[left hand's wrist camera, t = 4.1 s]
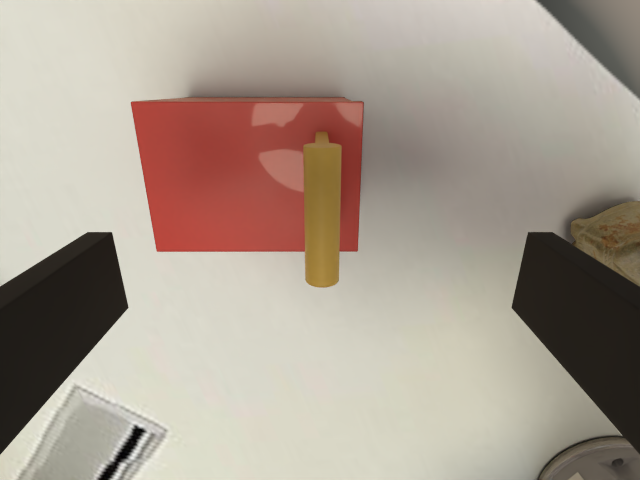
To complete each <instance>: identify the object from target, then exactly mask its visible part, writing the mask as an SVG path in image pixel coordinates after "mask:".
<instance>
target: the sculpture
mask: <svg viewBox="0 0 640 480" xmlns="http://www.w3.org/2000/svg"><path fill="white" fill-rule="evenodd" d="M571 235H572V236H573V237H574V238H575V240H576V241H574V242H573V243H572V245H574V246H575V247H577V248H578V249H580V250H582V251H583V252H585V253H586V254H588V255H590V256H591V257H593V258H595V259H596V260H598V261H599V262H601V263H603V264H604V265H606V266H607V267H609V268H611V269H612V270H614V271H615V272H617V273H619V274H620V275H622V276H623V277H625V278H627V279H628V280H630V281H632V282H633V283H635V284H636V285H638V286H640V201H633V202H626V203H622V204H619V205H616V206H614V207H611V208H609V209H607V210H605V211H603V212H601V213H599V214H598V215H596V216H594V217H591V218H587V219H582V218H578V219H576V220H574V221H572V222H571Z"/></svg>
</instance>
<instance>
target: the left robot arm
mask: <svg viewBox="0 0 640 480" xmlns="http://www.w3.org/2000/svg"><path fill="white" fill-rule="evenodd" d="M127 309H128V304H127V299H126V294H125V290H124V285H123V281H122V276H121V272H120V267H119V262H118V258H117V253H116V249H115V244H114V240H113V235H112V232H87V233H86V234H84V235H82V236H81V237H79V238H78V239H76V240H74V241H73V242H71V243H70V244H68V245H66V246H65V247H63V248H62V249H60V250H58V251H57V252H55V253H54V254H52V255H50V256H49V257H47V258H45V259H44V260H42V261H41V262H39V263H37V264H36V265H34V266H33V267H31V268H29V269H28V270H26V271H25V272H23V273H21V274H20V275H18V276H17V277H15V278H13V279H12V280H10V281H8V282H7V283H5V284H4V285H2V286H0V454H1V453H2V452H3V451H4V450H5V449H6V447H7V446H8V445H9V444H10V443H11V442H12V441H13V439H14V438H15V437H16V436H17V435H18V434H19V432H20V431H21V430H22V429H23V428H24V427H25V426H26V424H27V423H28V422H29V421H30V420H31V419H32V418H33V416H34V415H35V414H36V413H37V412H38V411H39V410H40V408H41V407H42V406H43V405H44V404H45V403H46V402H47V400H48V399H49V398H50V397H51V396H52V395H53V393H54V392H55V391H56V390H57V389H58V388H59V387H60V385H61V384H62V383H63V382H64V381H65V380H66V379H67V377H68V376H69V375H70V374H71V373H72V372H73V371H74V369H75V368H76V367H77V366H78V365H79V364H80V363H81V361H82V360H83V359H84V358H85V357H86V356H87V355H88V353H89V352H90V351H91V350H92V349H93V348H94V346H95V345H96V344H97V343H98V342H99V341H100V340H101V338H102V337H103V336H104V335H105V334H106V333H107V332H108V330H109V329H110V328H111V327H112V326H113V325H114V324H115V322H116V321H117V320H118V319H119V318H120V317H121V316H122V314H123V313H124V312H125V311H126V310H127ZM512 309H513V310H514V311H515V312H516V313H517V314H518V316H519V317H520V318H521V319H522V320H523V321H524V322H525V324H526V325H527V326H528V327H529V328H530V329H531V330H532V332H533V333H534V334H535V335H536V336H537V337H538V338H539V340H540V341H541V342H542V343H543V344H544V345H545V346H546V348H547V349H548V350H549V351H550V352H551V353H552V355H553V356H554V357H555V358H556V359H557V360H558V361H559V363H560V364H561V365H562V366H563V367H564V368H565V369H566V371H567V372H568V373H569V374H570V375H571V376H572V377H573V379H574V380H575V381H576V382H577V383H578V384H579V385H580V387H581V388H582V389H583V390H584V391H585V392H586V394H587V395H588V396H589V397H590V398H591V399H592V400H593V402H594V403H595V404H596V405H597V406H598V407H599V408H600V410H601V411H602V412H603V413H604V414H605V415H606V416H607V418H608V419H609V420H610V421H611V422H612V423H613V424H614V426H615V427H616V428H617V429H618V430H619V431H620V432H621V434H622V435H623V436H624V437H625V438H623V437H608V438H600V439H595V440H591V441H587V442H584V443H581V444H578V445H576V446H574V447H572V448H570V449H568V450H566V451H564V452H563V453H561V454H560V455H558V456H557V457H556V458H555V459H553V460H552V461H551V462H550V463H549V464H548V465H547V466H546V468H545V469H544V470H543V472H542V473H541V475H540V477H539V480H640V286H638V285H636V284H635V283H633V282H632V281H630V280H628V279H627V278H625V277H623V276H622V275H620V274H619V273H617V272H615V271H614V270H612V269H611V268H609V267H607V266H606V265H604V264H603V263H601V262H599V261H598V260H596V259H595V258H593V257H591V256H590V255H588V254H586V253H585V252H583V251H582V250H580V249H578V248H577V247H575V246H574V245H572V244H570V243H569V242H567V241H566V240H564V239H562V238H561V237H559V236H558V235H556V234H554V233H553V232H528V235H527V240H526V244H525V249H524V253H523V258H522V262H521V267H520V272H519V276H518V281H517V285H516V290H515V294H514V299H513V304H512Z"/></svg>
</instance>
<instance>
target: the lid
mask: <svg viewBox="0 0 640 480" xmlns="http://www.w3.org/2000/svg"><path fill="white" fill-rule="evenodd" d="M131 107H132V112H133V118H134V124H135V129H136V135H137V141H138V147H139V152H140V158H141V164H142V169H143V175H144V181H145V187H146V192H147V198H148V204H149V209H150V215H151V221H152V227H153V232H154V238H155V244H156V249H157V252H255V251H305V280H306V282H307V283H308V284H309V285H311V286H315V287H330V286H333V285H335V284H336V283H337V282H338V281H339V251H358V231H359V206H360V182H361V157H362V132H363V108H364V102H362V101H134V102H131Z"/></svg>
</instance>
